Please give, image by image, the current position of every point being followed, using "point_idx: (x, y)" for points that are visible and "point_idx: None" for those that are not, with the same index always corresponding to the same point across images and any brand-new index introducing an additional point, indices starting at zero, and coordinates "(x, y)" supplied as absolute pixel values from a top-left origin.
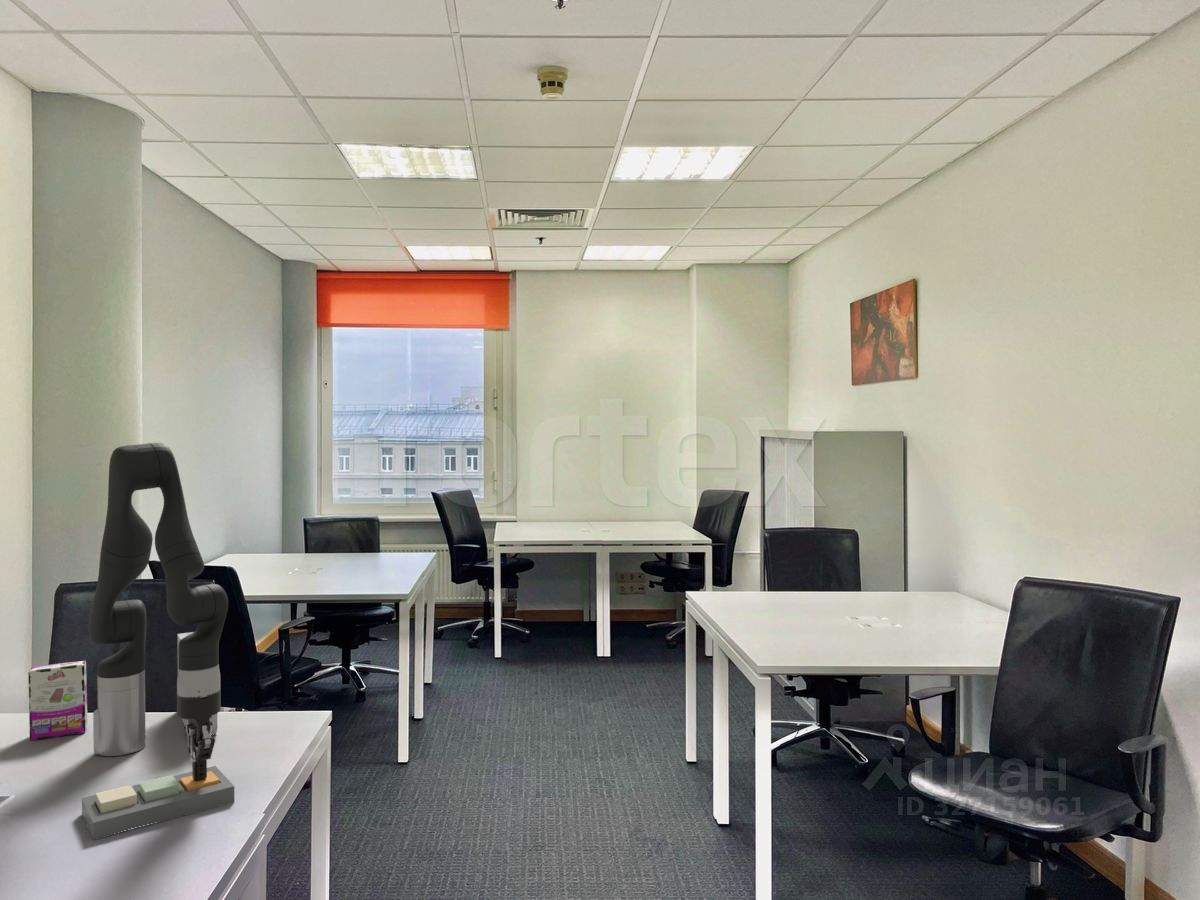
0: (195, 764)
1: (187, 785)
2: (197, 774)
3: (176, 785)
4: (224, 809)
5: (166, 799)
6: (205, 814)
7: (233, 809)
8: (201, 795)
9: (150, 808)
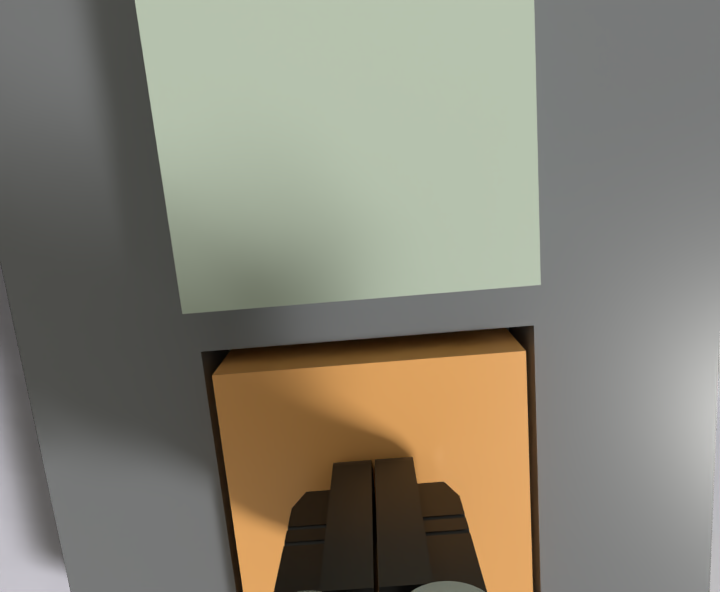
0: (321, 584)
1: (271, 383)
2: (295, 522)
3: (178, 282)
4: (48, 527)
5: (91, 160)
6: (27, 408)
7: (16, 573)
8: (46, 450)
9: None
